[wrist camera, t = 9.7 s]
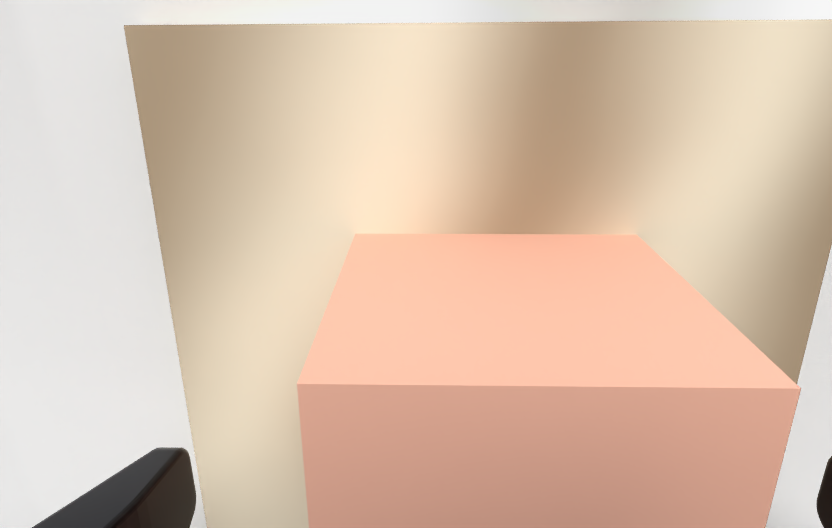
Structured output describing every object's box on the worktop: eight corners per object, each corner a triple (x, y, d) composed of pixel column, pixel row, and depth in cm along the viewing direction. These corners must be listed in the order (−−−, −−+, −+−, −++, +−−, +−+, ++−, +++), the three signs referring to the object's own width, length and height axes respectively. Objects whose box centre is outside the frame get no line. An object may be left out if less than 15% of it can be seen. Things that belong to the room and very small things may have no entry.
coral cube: (636, 234, 11) (801, 388, 6) (606, 465, 12) (714, 725, 8) (355, 233, 11) (296, 383, 6) (364, 462, 12) (325, 717, 8)
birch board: (861, 20, 10) (888, 19, 9) (732, 571, 14) (744, 593, 13) (140, 26, 10) (124, 25, 10) (225, 565, 14) (216, 586, 14)
